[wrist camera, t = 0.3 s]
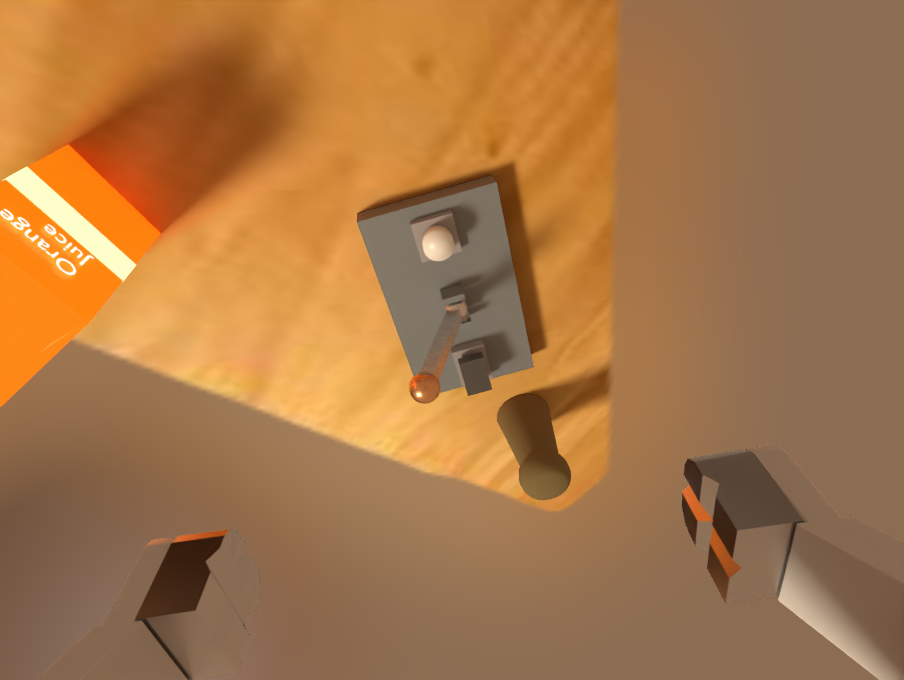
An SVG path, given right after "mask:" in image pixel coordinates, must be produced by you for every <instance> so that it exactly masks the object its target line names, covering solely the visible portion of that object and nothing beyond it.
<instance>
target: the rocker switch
mask: <svg viewBox="0 0 904 680" xmlns="http://www.w3.org/2000/svg"><path fill="white" fill-rule="evenodd" d="M458 362H459V366H460V369H461V373H462V376H463V380H464V383H465V386H466V390H467V393H468V396H470V395H473V394H477V393H481V392H484V391H488V390H491V389H492V387H491V384H490V380H489V376H488V372H487V369H486V365H485V361H484V358H483V354H482V352H480V353H477V354H473V355H469V356H466V357H462V358H459V359H458Z"/></svg>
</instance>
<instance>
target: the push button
mask: <svg viewBox="0 0 904 680" xmlns="http://www.w3.org/2000/svg"><path fill="white" fill-rule="evenodd" d="M422 245H423V250H424V253H425V255H426V256H427V257H428V258H429V259H431V260H433V261H443V260H446V259H448V258H449V257H450V256H451V255H452V253H453V252H454V248H455V244H454V240H453V237H452V234H451V232H450V231H449V230H448V229H447V228H446V227H444V226H440V225H435V226H432V227H429V228H428V229H427V230H426V231H425V232H424V234H423V236H422Z"/></svg>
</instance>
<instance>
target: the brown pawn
mask: <svg viewBox="0 0 904 680" xmlns="http://www.w3.org/2000/svg"><path fill="white" fill-rule="evenodd" d="M497 421H498V423H499V425H500V427H501V429H502V431H503V433H504V435H505V437H506V439H507V441H508V443H509V445H510V447H511V449H512V451H513V453H514V455H515V457H516V459H517V461H518V463H519V465H520V468H519V481H520V485H521V486H522V488H523V490H524V492H525V493H527V494H528V495H529V496H530V497H532V498H534V499H537V500H548V499H552V498H555V497H558V496H559V495H561V494H562V493H564V491H565V490H566V489H567V488H568V486H569V484H570V481H571V471H570V468H569V466H568V464H567V461H566V460H565V459H564V458H563V457H562V456H561V455H560V454H558V449H557V445H556V440H555V436H554V431H553V426H552V422H551V417H550V413H549V408H548V405H547V403H546V401H545V400H544V399H542V398H541V397H539V396H537V395H533V394H522V395H517V396H515V397H512V398H510V399H509V400H507V401H506V402H505V403H504V404H503V405H502V406H501V407H500V409H499V411H498V414H497Z"/></svg>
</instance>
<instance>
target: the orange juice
mask: <svg viewBox="0 0 904 680" xmlns="http://www.w3.org/2000/svg"><path fill="white" fill-rule="evenodd" d="M160 234H161V233H160V232H159V231H158V230H157V229H156V228H155V227H154V226H152V225H151V224H150V223H149V222H148V221H147V220H146V219H145V218H144V217H143V216H142V215H141V214H140V213H139V212H138V211H137V210H136V209H135V208H134V207H133V206H132V205H131V204H130V203H129V202H128V201H127V200H126V199H124V198H123V197H122V196H121V195H120V194H119V193H118V192H117V191H116V190H115V189H114V188H113V187H112V186H111V185H110V184H109V183H108V182H107V181H106V180H105V179H104V178H103V177H102V176H101V175H100V174H99V173H97V172H96V171H95V170H94V169H93V168H92V167H91V166H90V165H89V164H88V163H87V162H86V161H85V160H84V159H83V158H82V157H81V156H80V155H79V154H78V153H77V152H76V151H75V150H74V149H73V148H72V147H70V146H69V145H66V146H64V147H63V148H61V149H59V150H57V151H55V152H54V153H52V154H50V155H48V156H46V157H45V158H43V159H41V160H39V161H38V162H36V163H34V164H32V165H30V166H29V167H25V168H23V169H21V170H20V171H18V172H16V173H14V174H13V175H11V176H9V177H7V178H5V179H4V180H3V181H2V182H0V407H1V406H2V405H3V404H4V403H5V402H6V401H7V400H8V399H9V398H10V397H11V396H12V395H14V394H15V392H16V391H18V390H19V389H20V388H21V387H22V386H23V385H24V384H25V383H26V382H27V381H28V380H29V379H30V378H31V377H32V376H33V375H34V374H35V373H37V372H38V371H39V370H40V369H41V368H42V367H43V366H44V365H45V364H46V363H47V362H48V361H49V360H50V359H51V358H52V357H53V356H54V355H55V354H56V353H58V352H59V351H60V350H61V349H62V348H63V347H64V346H65V345H66V344H67V343H68V342H69V341H70V340H71V339H72V338H73V337H74V336H75V335H76V334H77V333H79V332H80V331H81V330H82V329H83V328H84V327H85V326H87V324H88V323H89V322H90V321H91V320H92V318H93V317H94V316H95V315H96V313H97V312H98V311H99V310H100V308H101V307H102V306H103V305H104V303H105V302H106V301H107V300H108V298H109V297H110V296H111V295H112V293H113V292H114V291H115V290H116V288H117V287H118V286H119V285H120V283H121V282H123V281H124V280H125V279H126V277H127V276H128V275H129V274H130V272H131V271H132V270H133V269H134V267H135V266H136V264H137V262H138V261H139V260H140V259H141V257H142V256H143V255H144V254H145V252H146V251H147V250H148V249H149V247H150V246H151V245H152V244H153V242H154V241H155V240H156V239H157V238H158V236H159V235H160Z"/></svg>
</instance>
